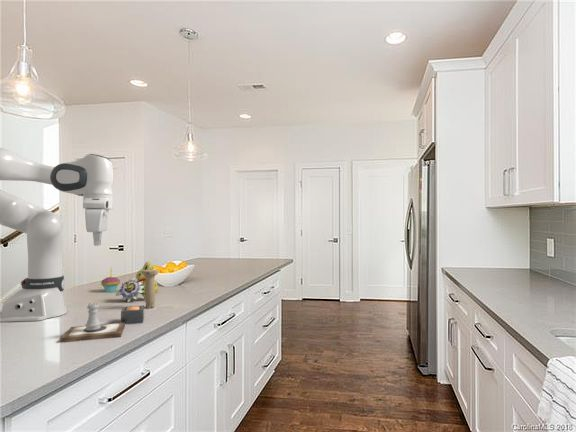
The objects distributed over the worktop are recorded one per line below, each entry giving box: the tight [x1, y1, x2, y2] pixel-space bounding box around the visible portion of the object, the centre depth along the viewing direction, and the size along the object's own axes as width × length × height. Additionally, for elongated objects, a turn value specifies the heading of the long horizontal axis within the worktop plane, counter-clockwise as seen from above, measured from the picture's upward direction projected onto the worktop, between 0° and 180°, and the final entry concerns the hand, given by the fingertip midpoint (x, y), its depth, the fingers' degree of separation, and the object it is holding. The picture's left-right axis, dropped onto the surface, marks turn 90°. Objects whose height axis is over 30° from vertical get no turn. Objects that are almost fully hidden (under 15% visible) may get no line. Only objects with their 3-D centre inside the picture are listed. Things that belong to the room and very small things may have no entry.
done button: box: [126, 305, 139, 310], centre depth 132 cm, size 4×4×3 cm
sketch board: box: [60, 322, 126, 343], centre depth 118 cm, size 16×12×2 cm
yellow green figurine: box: [135, 261, 159, 293], centre depth 184 cm, size 7×11×15 cm, turn 86°
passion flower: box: [115, 277, 145, 304], centre depth 167 cm, size 11×11×12 cm
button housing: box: [120, 305, 145, 325], centre depth 132 cm, size 7×7×4 cm
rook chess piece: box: [84, 302, 102, 331], centre depth 117 cm, size 4×4×8 cm
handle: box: [142, 269, 159, 309], centre depth 153 cm, size 5×6×15 cm
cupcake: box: [100, 266, 121, 293], centre depth 188 cm, size 9×8×12 cm
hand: (97, 245), depth 124 cm, fingers closed
